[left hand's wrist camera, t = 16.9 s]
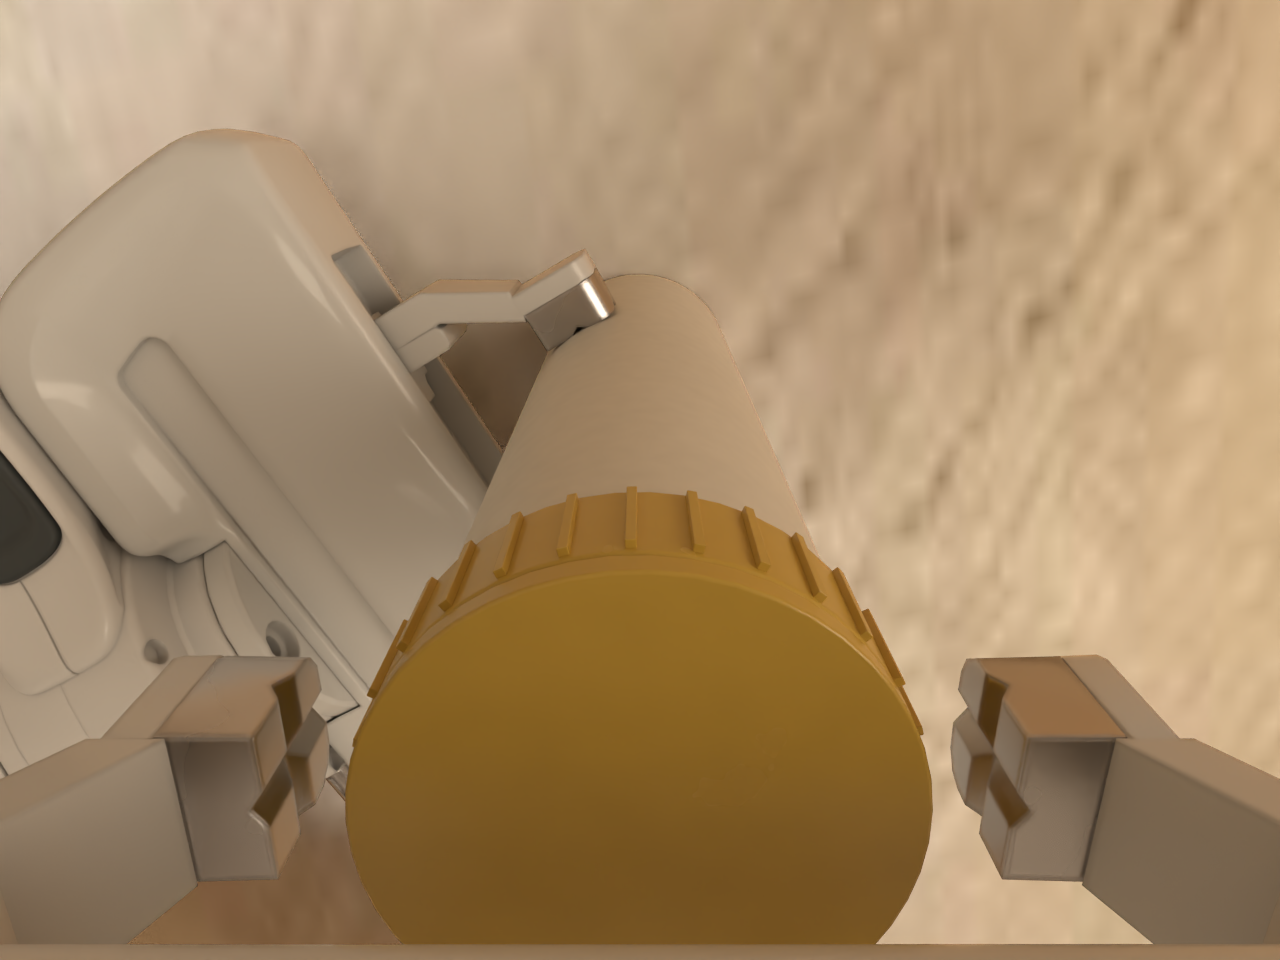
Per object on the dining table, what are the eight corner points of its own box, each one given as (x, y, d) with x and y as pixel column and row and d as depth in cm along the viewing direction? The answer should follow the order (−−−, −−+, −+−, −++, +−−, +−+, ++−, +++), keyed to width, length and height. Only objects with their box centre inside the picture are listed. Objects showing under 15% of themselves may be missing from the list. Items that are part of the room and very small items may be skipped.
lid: (940, 832, 11) (999, 966, 9) (507, 953, 12) (483, 1099, 10) (810, 407, 9) (852, 472, 7) (298, 583, 10) (222, 682, 8)
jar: (664, 474, 28) (707, 1042, 10) (520, 387, 27) (295, 854, 9) (759, 335, 27) (1004, 726, 9) (610, 238, 26) (546, 458, 8)
